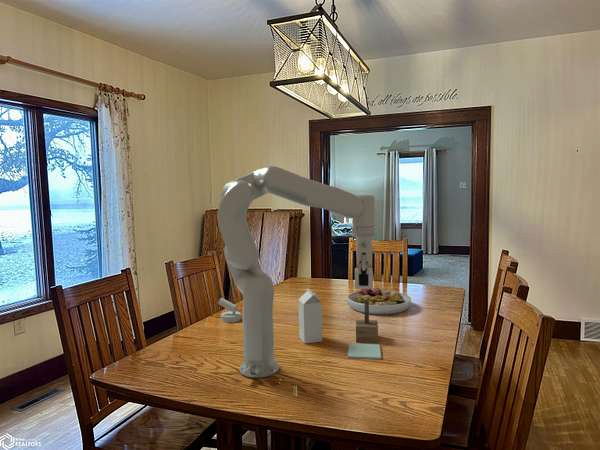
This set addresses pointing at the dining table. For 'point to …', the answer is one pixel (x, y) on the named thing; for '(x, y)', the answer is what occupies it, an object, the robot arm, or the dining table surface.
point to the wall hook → (232, 314)
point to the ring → (370, 283)
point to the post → (367, 327)
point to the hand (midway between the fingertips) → (363, 282)
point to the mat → (364, 351)
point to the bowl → (379, 301)
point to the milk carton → (310, 318)
